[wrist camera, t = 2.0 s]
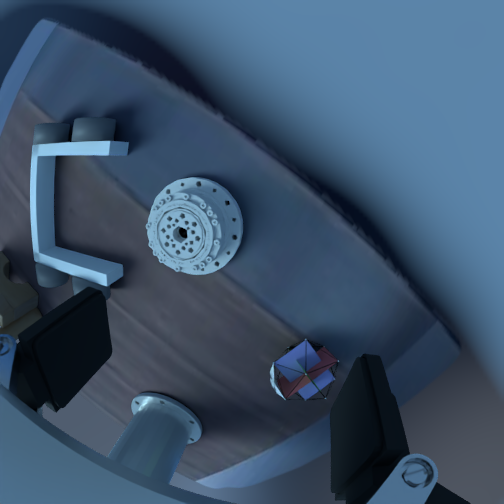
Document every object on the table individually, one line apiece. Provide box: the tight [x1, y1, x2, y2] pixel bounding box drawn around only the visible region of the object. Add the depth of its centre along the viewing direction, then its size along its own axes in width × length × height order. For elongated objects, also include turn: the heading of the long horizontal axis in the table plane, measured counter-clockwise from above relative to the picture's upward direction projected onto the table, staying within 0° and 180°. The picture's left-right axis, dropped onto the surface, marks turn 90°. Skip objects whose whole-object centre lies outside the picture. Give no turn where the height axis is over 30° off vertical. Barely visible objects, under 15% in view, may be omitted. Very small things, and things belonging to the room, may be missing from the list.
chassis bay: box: [30, 117, 129, 300], centre depth 28 cm, size 21×14×5 cm
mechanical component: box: [146, 177, 243, 275], centre depth 27 cm, size 10×4×10 cm
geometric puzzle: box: [270, 339, 339, 401], centre depth 28 cm, size 7×7×8 cm
